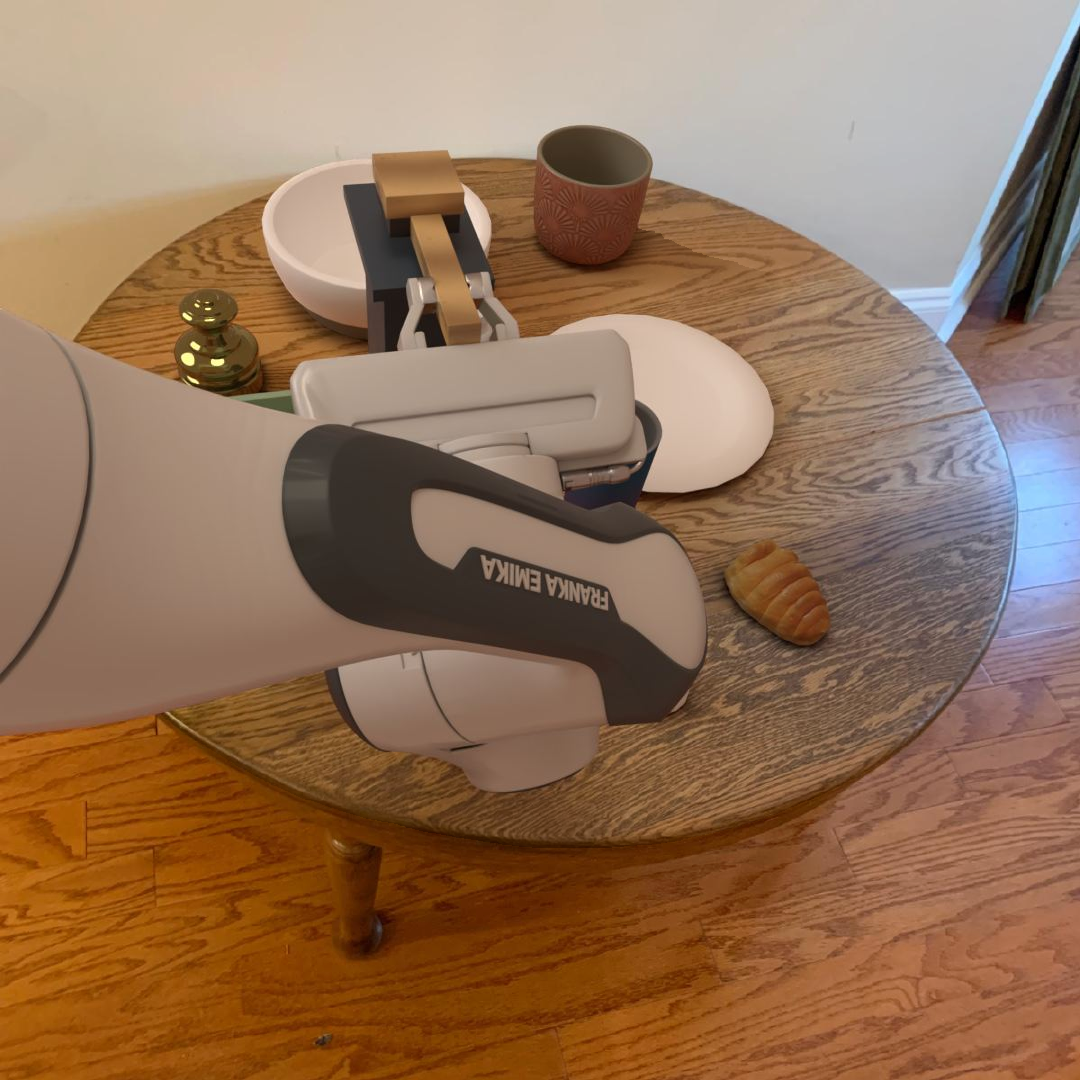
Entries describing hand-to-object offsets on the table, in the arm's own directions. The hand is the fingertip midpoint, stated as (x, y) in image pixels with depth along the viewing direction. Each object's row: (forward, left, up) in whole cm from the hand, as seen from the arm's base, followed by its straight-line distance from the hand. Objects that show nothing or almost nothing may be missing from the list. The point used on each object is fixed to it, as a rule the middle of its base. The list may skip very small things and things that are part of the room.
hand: (446, 278), depth 58 cm
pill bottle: (+8, +23, -29) cm, 38 cm away
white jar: (+14, -15, -29) cm, 35 cm away
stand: (0, +9, -29) cm, 30 cm away
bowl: (+2, +37, -29) cm, 47 cm away
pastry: (+27, -9, -29) cm, 41 cm away
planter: (+26, +42, -29) cm, 57 cm away
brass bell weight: (-15, +25, -29) cm, 41 cm away
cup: (+13, -1, -29) cm, 32 cm away
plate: (+24, +15, -29) cm, 41 cm away
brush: (0, +3, -1) cm, 3 cm away
